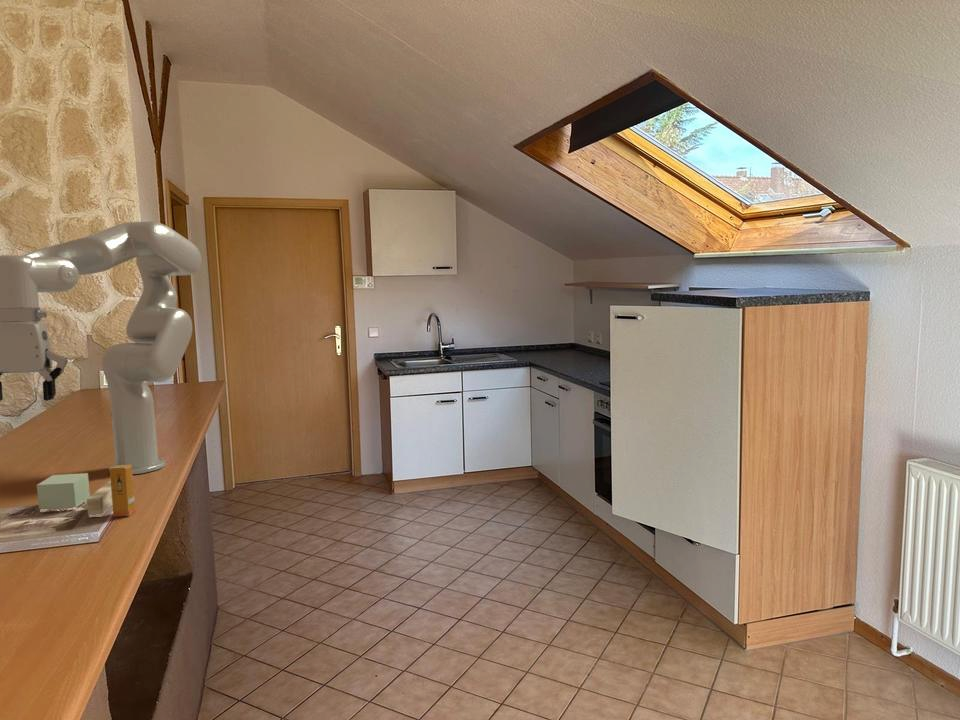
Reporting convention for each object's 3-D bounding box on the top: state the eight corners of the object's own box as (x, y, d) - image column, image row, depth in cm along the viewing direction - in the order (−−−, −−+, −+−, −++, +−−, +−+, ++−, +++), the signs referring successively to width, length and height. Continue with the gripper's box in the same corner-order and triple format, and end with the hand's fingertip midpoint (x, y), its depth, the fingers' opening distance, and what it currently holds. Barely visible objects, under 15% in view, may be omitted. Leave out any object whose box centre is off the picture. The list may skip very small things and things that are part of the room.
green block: (55, 502, 145) (52, 475, 144) (90, 499, 146) (87, 473, 145) (39, 513, 138) (36, 485, 137) (76, 510, 139) (73, 482, 138)
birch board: (121, 490, 152) (120, 472, 152) (133, 489, 153) (132, 472, 152) (88, 518, 134) (86, 498, 134) (101, 517, 135) (100, 497, 134)
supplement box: (137, 510, 138) (133, 463, 137) (129, 516, 135) (125, 468, 134) (120, 511, 138) (116, 464, 137) (112, 517, 135) (107, 468, 133)
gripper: (71, 316, 142) (76, 396, 143) (-20, 317, 139) (-14, 399, 140) (56, 316, 135) (61, 401, 136) (-41, 318, 131) (-35, 404, 133)
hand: (23, 400), depth 138 cm, fingers open, 9 cm apart
